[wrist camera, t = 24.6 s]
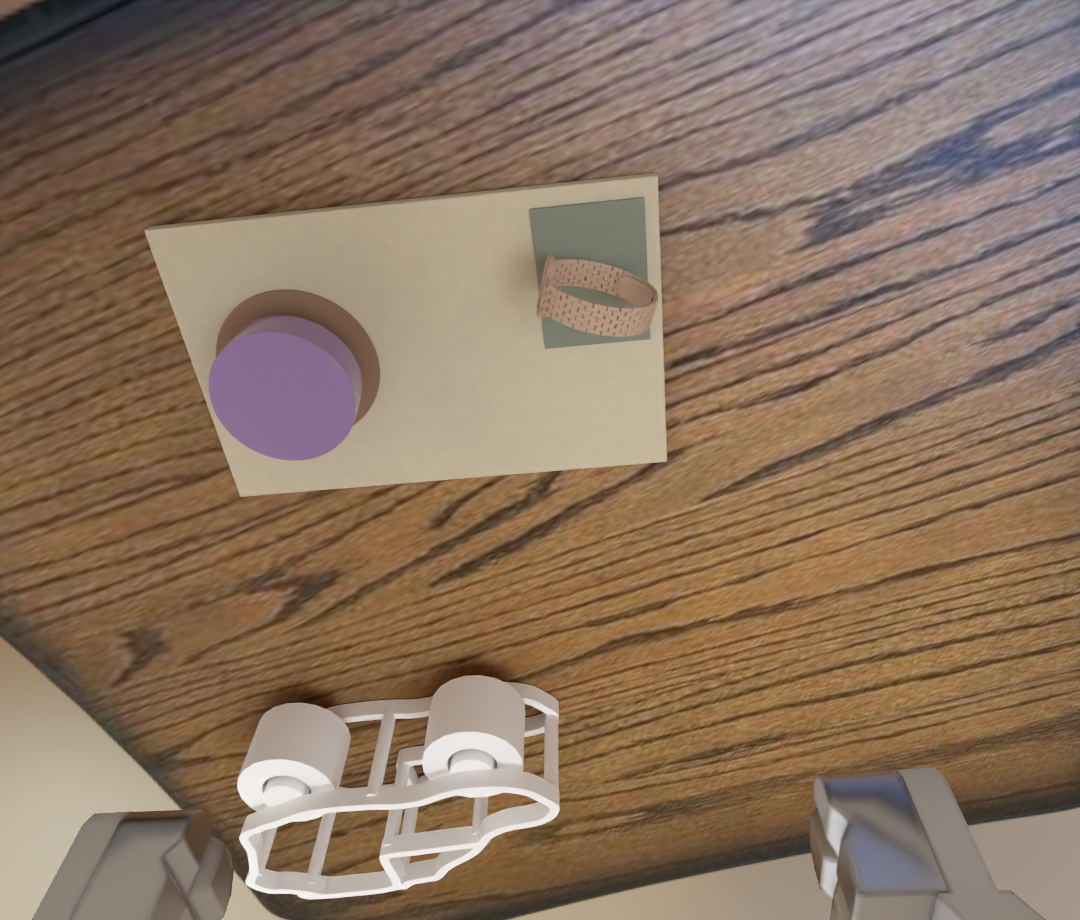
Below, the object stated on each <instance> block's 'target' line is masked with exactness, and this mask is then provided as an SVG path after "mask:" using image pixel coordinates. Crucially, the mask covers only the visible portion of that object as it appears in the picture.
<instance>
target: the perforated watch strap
mask: <svg viewBox="0 0 1080 920" xmlns="http://www.w3.org/2000/svg"><path fill="white" fill-rule="evenodd" d="M594 266H595V267H594ZM593 268H594V269H593ZM587 269H588V270H587ZM624 270H625V269H622V268H619V267H616V266H614V267H613V265H609V264H605V263H600V262H597V261H592V260H590V262H589V260H585V259H574V258H567V259H566V258H564V259H555V256H554V255H552V254H549V255H548V257H547V259H546V263H545V267H544V271H543V275H542V280H541V285H540V290H539V296H538V302H537V316H538V317H539V318H542V317H546V316H547V317H551V319H553V320H555V321H557V322H559V323H561V324H564V325H566V326H568V327H570V328H573V327H574V329H576V330H580V331H583V332H586V331H587V333H592V334H597V335H602V336H613V337H624V336H626V337H628V336H634V335H638V334H641V333H644V332H645V331H646V330H648V329H649V327H650V326H651V322H652V319H653V315H654V312H655V309H656V306H657V303H658V300H659V295H658V292H657V290H656V289H655V288H654V287H653V285H651V284H650V283H649V282H648V281H646V280H644V278H642V277H640V276H638V275H635V274H634V273H632V272H630V271H627V270H625V271H624ZM599 271H600V272H599ZM598 273H599V274H598ZM617 273H618V275H617ZM585 276H586V278H585ZM610 276H611V277H610ZM603 278H604V279H603ZM615 281H616V282H615ZM590 282H591V283H590ZM602 284H603V285H602ZM608 284H609V285H608ZM583 285H584V288H589V289H594V290H598V291H602V292H606V291H607V293H608V294H611V295H614V296H617V295H618V297H619V298H621V299H624V300H626V301H628V302H629V303H631V304H633V305H634V306H636V307H618V306H610V305H607V306H606V305H604V304H599V303H594V302H590V301H587V300H584V299H581V298H578V297H575V296H573V295H569V294H568V293H566V292H564V291H562V290H560V289H559V288H558V286H576V287H583ZM595 286H596V287H595ZM601 286H602V287H601ZM580 299H581V300H580ZM585 306H586V309H585ZM578 308H579V309H578ZM606 308H607V309H606ZM598 310H599V312H598ZM564 312H565V313H564ZM591 312H592V314H591ZM590 314H591V315H590ZM604 314H605V316H604ZM583 315H584V317H583ZM576 316H577V318H576ZM596 319H597V320H596ZM589 320H590V322H589ZM581 322H582V325H581ZM588 322H589V323H588ZM602 323H603V324H602ZM594 326H595V327H594Z"/></svg>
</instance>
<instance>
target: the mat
mask: <svg viewBox="0 0 1080 920" xmlns="http://www.w3.org/2000/svg"><path fill="white" fill-rule="evenodd" d="M145 234H146V237H147V240H148V243H149V245H150V248H151V251H152V254H153V257H154V259H155V262H156V265H157V268H158V270H159V273H160V276H161V279H162V281H163V284H164V287H165V290H166V292H167V295H168V298H169V301H170V304H171V306H172V309H173V312H174V315H175V317H176V320H177V323H178V326H179V328H180V331H181V334H182V337H183V339H184V342H185V345H186V348H187V350H188V353H189V356H190V359H191V362H192V364H193V367H194V370H195V373H196V375H197V378H198V381H199V384H200V386H201V389H202V392H203V395H204V397H205V400H206V403H207V406H208V409H209V411H210V414H211V417H212V420H213V422H214V425H215V428H216V431H217V433H218V436H219V439H220V442H221V444H222V447H223V450H224V453H225V455H226V458H227V461H228V464H229V467H230V469H231V472H232V475H233V478H234V480H235V483H236V486H237V489H238V491H239V494H240V496H241V497H243V496H255V495H267V494H280V493H292V492H304V491H316V490H328V489H340V488H352V487H365V486H377V485H389V484H401V483H413V482H425V481H437V480H449V479H462V478H474V477H486V476H498V475H510V474H522V473H534V472H547V471H559V470H571V469H583V468H595V467H607V466H619V465H632V464H644V463H656V462H666V461H667V440H666V410H665V379H664V348H663V318H662V287H661V256H660V226H659V195H658V176H657V174H656V173H648V174H638V175H629V176H619V177H610V178H601V179H591V180H582V181H572V182H563V183H554V184H544V185H535V186H526V187H516V188H507V189H497V190H488V191H479V192H469V193H460V194H450V195H441V196H432V197H422V198H413V199H404V200H394V201H385V202H375V203H366V204H357V205H347V206H338V207H328V208H319V209H310V210H300V211H291V212H282V213H272V214H263V215H253V216H244V217H235V218H225V219H216V220H206V221H197V222H188V223H178V224H169V225H159V226H150V227H148V228H147V229H146V230H145ZM549 254H552V255H554V256H555V259H564V258H566V259H567V258H574V259H585V260H589V262H590V260H592V261H597V262H600V263H605V264H609V265H613V267H614V266H616V267H619V268H622V269H625V270H627V271H630V272H632V273H634V274H635V275H638V276H640V277H642V278H644V280H646V281H648V282H649V283H650V284H651V285H653V287H654V288H655V289H656V290H657V292H658V295H659V300H658V303H657V306H656V309H655V312H654V315H653V319H652V322H651V326H650V327H649V329H648V330H646V331H645V332H644V333H641V334H638V335H634V336H628V337H626V336H624V337H613V336H602V335H597V334H592V333H587V331H586V332H583V331H580V330H576V329H574V327H573V328H570V327H568V326H566V325H564V324H561V323H559V322H557V321H555V320H553V319H551V317H547V316H546V317H542V318H539V317H538V316H537V302H538V296H539V290H540V285H541V280H542V275H543V271H544V267H545V263H546V259H547V257H548V255H549ZM594 267H595V266H594ZM593 269H594V268H593ZM587 270H588V269H587ZM625 270H624V271H625ZM599 272H600V271H599ZM598 274H599V273H598ZM617 275H618V273H617ZM610 277H611V276H610ZM585 278H586V276H585ZM603 279H604V278H603ZM615 282H616V281H615ZM590 283H591V282H590ZM602 285H603V284H602ZM608 285H609V284H608ZM595 287H596V286H595ZM601 287H602V286H601ZM558 288H559V289H560V290H562V291H564V292H566V293H568V294H569V295H573V296H575V297H578V298H581V299H584V300H587V301H590V302H594V303H599V304H604V305H606V306H607V305H610V306H618V307H636V306H634V305H633V304H631V303H629V302H628V301H626V300H624V299H621V298H619V297H618V295H617V296H614V295H611V294H608V293H607V291H606V292H602V291H598V290H594V289H589V288H584V285H583V287H576V286H558ZM581 299H580V300H581ZM578 309H579V308H578ZM585 309H586V306H585ZM606 309H607V308H606ZM598 312H599V310H598ZM564 313H565V312H564ZM591 314H592V312H591ZM591 314H590V315H591ZM278 315H285V316H294V317H299V318H303V319H306V320H309V321H312V322H315V323H317V324H319V325H321V326H323V327H325V328H326V329H328V330H329V331H331V332H332V333H333V334H335V335H336V336H337V337H338V338H339V339H340V340H341V341H342V342H343V343H344V344H345V345H346V346H347V347H348V349H349V350H350V351H351V353H352V354H353V356H354V357H355V359H356V361H357V363H358V365H359V368H360V371H361V374H362V380H363V398H362V402H361V406H360V409H359V411H358V413H357V416H356V418H355V421H354V423H353V426H352V428H351V430H350V432H349V433H348V435H347V436H346V438H345V439H344V440H343V441H342V442H341V443H340V445H338V446H337V447H336V448H334V449H333V450H331V451H330V452H328V453H326V454H324V455H322V456H319V457H316V458H312V459H307V460H297V461H291V460H281V459H276V458H272V457H268V456H265V455H263V454H260V453H258V452H256V451H254V450H252V449H250V448H248V447H247V446H245V445H244V444H242V443H241V442H239V441H238V440H237V439H236V438H235V437H233V436H232V435H231V434H230V433H229V432H228V431H227V430H226V428H225V427H224V426H223V424H222V423H221V422H220V420H219V419H218V417H217V415H216V413H215V411H214V409H213V406H212V403H211V400H210V395H209V375H210V370H211V367H212V365H213V362H214V361H215V359H216V357H217V356H218V354H219V353H220V352H221V350H222V349H223V348H224V347H225V345H226V344H227V343H228V342H229V340H230V339H231V338H232V337H233V335H234V334H235V333H236V332H237V331H238V330H239V329H240V328H242V327H243V326H245V325H246V324H248V323H250V322H252V321H254V320H257V319H260V318H263V317H268V316H278ZM604 316H605V314H604ZM583 317H584V315H583ZM576 318H577V316H576ZM596 320H597V319H596ZM589 322H590V320H589ZM589 322H588V323H589ZM602 324H603V323H602ZM581 325H582V322H581ZM594 327H595V326H594Z"/></svg>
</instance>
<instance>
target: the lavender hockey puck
mask: <svg viewBox="0 0 1080 920" xmlns="http://www.w3.org/2000/svg"><path fill="white" fill-rule="evenodd" d="M209 395H210V400H211V403H212V406H213V409H214V411H215V413H216V415H217V417H218V419H219V420H220V422H221V423H222V424H223V426H224V427H225V428H226V430H227V431H228V432H229V433H230V434H231V435H232V436H233V437H235V438H236V439H237V440H238V441H239V442H241V443H242V444H244V445H245V446H247V447H248V448H250V449H252V450H254V451H256V452H258V453H260V454H263V455H265V456H268V457H272V458H276V459H281V460H291V461H297V460H307V459H312V458H316V457H319V456H322V455H324V454H326V453H328V452H330V451H331V450H333V449H334V448H336V447H337V446H338V445H340V443H341V442H342V441H343V440H344V439H345V438H346V436H347V435H348V433H349V432H350V430H351V428H352V426H353V423H354V421H355V418H356V416H357V413H358V411H359V409H360V406H361V402H362V398H363V380H362V374H361V371H360V368H359V365H358V363H357V361H356V359H355V357H354V356H353V354H352V353H351V351H350V350H349V349H348V347H347V346H346V345H345V344H344V343H343V342H342V341H341V340H340V339H339V338H338V337H337V336H336V335H335V334H333V333H332V332H331V331H329V330H328V329H326V328H325V327H323V326H321V325H319V324H317V323H315V322H312V321H309V320H306V319H303V318H299V317H294V316H285V315H278V316H268V317H263V318H260V319H257V320H254V321H252V322H250V323H248V324H246V325H245V326H243V327H242V328H240V329H239V330H238V331H237V332H236V333H235V334H234V335H233V337H232V338H231V339H230V340H229V342H228V343H227V344H226V345H225V347H224V348H223V349H222V350H221V352H220V353H219V354H218V356H217V357H216V359H215V361H214V362H213V365H212V367H211V370H210V375H209Z"/></svg>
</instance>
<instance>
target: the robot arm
mask: <svg viewBox="0 0 1080 920" xmlns="http://www.w3.org/2000/svg"><path fill="white" fill-rule="evenodd" d="M812 792H813V795H814V799H815V802H816V806H817V808H816V809H815V810H814V811H813V812H811V813H810V827H809V832H810V844H811V853H812V858H813V862H814V867H815V872H816V875H817V879H818V883H819V887H820V889H821V890H822V891H823V892H824V893H825V894H826V895H827V896H828V897H829V898H830V899H831V900H832V908H831V909H832V910H831V918H830V920H1045V919H1044V918H1043V917H1042V916H1041V915H1039V914H1038V913H1037V912H1036V911H1035V910H1033V909H1032V908H1031V907H1030V906H1029V905H1027V904H1026V903H1025V902H1024V901H1023V900H1021V899H1020V898H1019V897H1018V896H1017V895H1015V894H1014V893H1013V892H1012V891H998V890H997V888H996V885H995V883H994V881H993V879H992V877H991V875H990V873H989V871H988V868H987V866H986V864H985V862H984V860H983V858H982V856H981V853H980V851H979V849H978V847H977V845H976V843H975V841H974V838H973V836H972V834H971V832H970V830H969V828H968V826H967V823H966V821H965V819H964V817H963V815H962V813H961V811H960V808H959V806H958V804H957V802H956V800H955V798H954V796H953V793H952V791H951V789H950V787H949V785H948V783H947V781H946V778H945V776H944V775H943V774H942V773H941V772H940V771H939V770H938V769H937V768H933V767H930V768H917V769H904V770H893V769H883V770H869V771H855V772H841V773H827V774H817V775H816V777H815V778H814V783H813V791H812ZM214 826H215V823H214V821H213V819H212V818H211V816H210V814H209V812H208V811H207V809H199V810H174V811H148V812H117V813H99V814H94V815H93V816H92V817H90V818H89V819H88V820H87V821H86V822H85V823H84V824H83V825H82V827H81V829H80V830H79V832H78V834H77V836H76V838H75V840H74V842H73V844H72V845H71V847H70V849H69V851H68V853H67V855H66V857H65V858H64V860H63V862H62V864H61V866H60V868H59V870H58V872H57V874H56V875H55V877H54V879H53V881H52V883H51V885H50V887H49V888H48V890H47V892H46V894H45V896H44V898H43V900H42V902H41V903H40V905H39V907H38V909H37V911H36V913H35V915H34V917H33V918H32V920H221V919H222V918H223V917H224V915H225V912H226V909H227V905H228V902H229V899H230V896H231V890H232V880H233V865H232V859H231V854H230V852H229V850H228V848H227V846H226V844H225V843H223V842H221V841H220V840H218V839H216V838H215V837H213V836H211V834H212V831H213V829H214Z"/></svg>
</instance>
